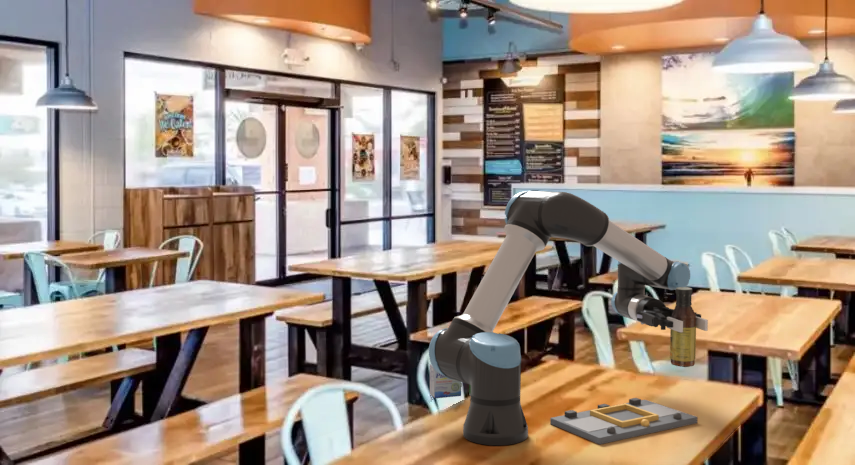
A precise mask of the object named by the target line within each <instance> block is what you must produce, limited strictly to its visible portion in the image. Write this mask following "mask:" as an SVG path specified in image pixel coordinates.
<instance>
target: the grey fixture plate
mask: <svg viewBox="0 0 855 465" xmlns="http://www.w3.org/2000/svg"><path fill="white" fill-rule="evenodd" d="M549 422H550V423H549V424H550V425H552V426H554V427H557V428H560V430H561V429H562V430H564V431H566V432H569V433H571V434H574V435H576V436H578V437H581V438H583V439H585V440H588V441H590V442H593V443H595V444H598V445H603V444H608V443H613V442H616V441H621V440H626V439H631V438H635V437H640V436H644V435H649V434H653V433H658V432H662V431H667V430H671V429H676V428H680V427H684V426H690V425H695V424H698V416H696V415H692V414H689V413H686V412H684V411H681V410H678V409H675V408H671V407H669V406H666V405H662V404H659V403H657V402H654V401H651V400H648V399H641V398H639V397H633V398H629V399H628V402H624V403H620V404H619V403H618V404H616V405H615V404H614V405H609V404H606V403H601V404H597V408H594V409H588V410H585V411H584V410H583V411H579V412H578V411H576V410H573V409H571V410H566V411H565V410H564V414H562V415H558V416H554V417H550V418H549Z"/></svg>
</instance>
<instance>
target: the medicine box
mask: <svg viewBox="0 0 855 465" xmlns="http://www.w3.org/2000/svg"><path fill="white" fill-rule="evenodd" d="M429 394H430V396H431V397H432V398H434V399H442V398H443V399H444V398H445V399H446V398H454V397H455V398H456V397H462V382H460V381H457V380H454V379H449V378H446V377H445V376H444V375H441V374H439V373H438V372H437V371H436V370H435V369H434V368H433V366H432V365H431V363H430V364H429Z"/></svg>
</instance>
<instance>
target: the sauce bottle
mask: <svg viewBox="0 0 855 465" xmlns="http://www.w3.org/2000/svg"><path fill="white" fill-rule="evenodd" d="M692 295H693V288H692V287H688V286H686V287H677V288H676V290H675V296H676V297H675V299H676V300H675V301H676V302H675V306H674V308H673V309H674V311H673V314H672V316H671V318H674V319H677V320H680V321H683V332H678V331H675V330H672V329H670V337H669V338H670V339H669V340H670V341H669V342H670V343H669V358H670V364H671V365H672V366H676V367H683V368H689V367H693V366H694V365H695V364H696V361H695V360H696V352H697V351H696V348H697V342H696V341H697V328H696V315H695V311H694V309H693V307H692V306H693V303H692Z"/></svg>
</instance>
